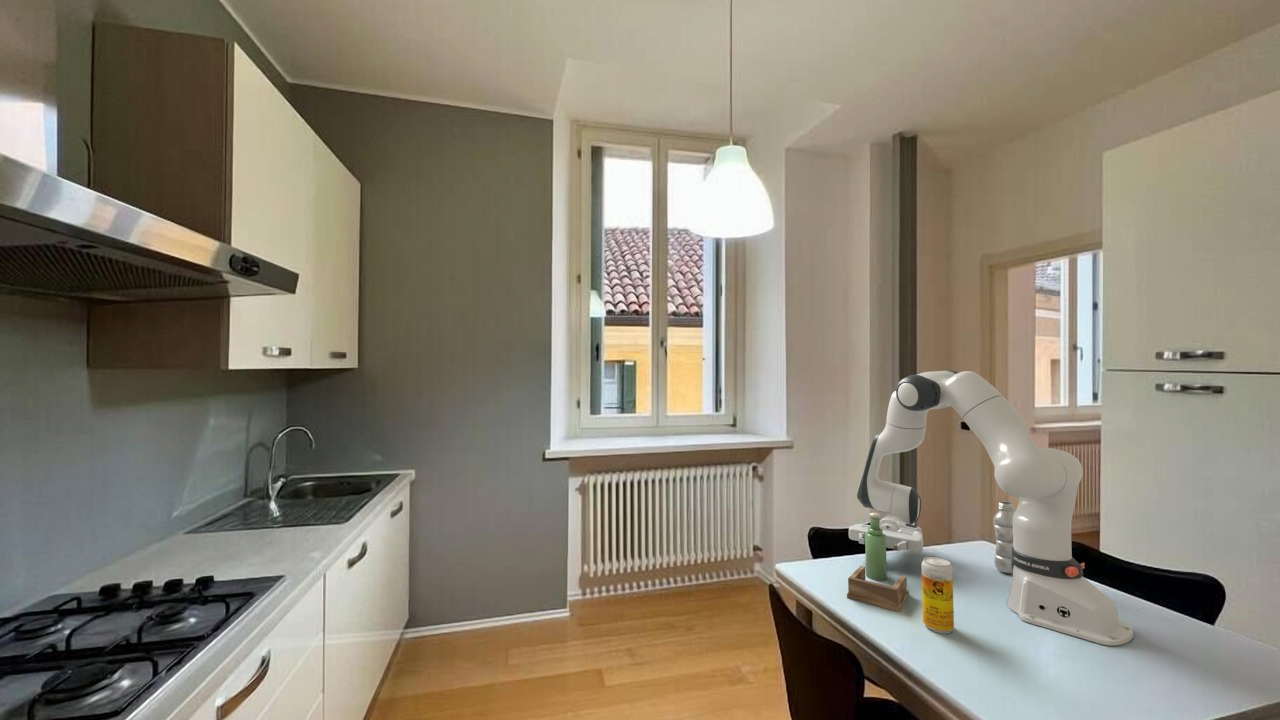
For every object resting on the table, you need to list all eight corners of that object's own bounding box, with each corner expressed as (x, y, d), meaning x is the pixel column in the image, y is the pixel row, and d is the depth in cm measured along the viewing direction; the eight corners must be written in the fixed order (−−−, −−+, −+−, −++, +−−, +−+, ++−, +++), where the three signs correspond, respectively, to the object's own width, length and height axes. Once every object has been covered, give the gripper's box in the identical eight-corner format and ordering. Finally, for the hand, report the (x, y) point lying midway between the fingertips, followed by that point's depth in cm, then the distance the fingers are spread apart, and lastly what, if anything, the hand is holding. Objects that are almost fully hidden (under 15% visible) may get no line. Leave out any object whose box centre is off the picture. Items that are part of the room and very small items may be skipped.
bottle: (891, 577, 141) (889, 514, 141) (879, 582, 138) (877, 517, 139) (873, 571, 146) (872, 510, 146) (861, 575, 143) (860, 513, 143)
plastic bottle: (1028, 577, 141) (1026, 506, 141) (1004, 577, 141) (1002, 506, 141) (1012, 568, 147) (1010, 500, 148) (989, 568, 147) (987, 500, 148)
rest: (860, 582, 138) (860, 564, 138) (908, 594, 130) (908, 575, 130) (847, 597, 129) (846, 578, 129) (897, 611, 121) (897, 590, 121)
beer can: (925, 631, 111) (924, 564, 112) (920, 619, 117) (919, 555, 118) (957, 636, 109) (955, 567, 110) (950, 623, 115) (948, 558, 116)
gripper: (855, 516, 161) (841, 526, 151) (927, 528, 148) (917, 540, 138) (855, 536, 161) (841, 547, 151) (927, 549, 148) (917, 563, 138)
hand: (878, 544), depth 144 cm, fingers open, 8 cm apart
